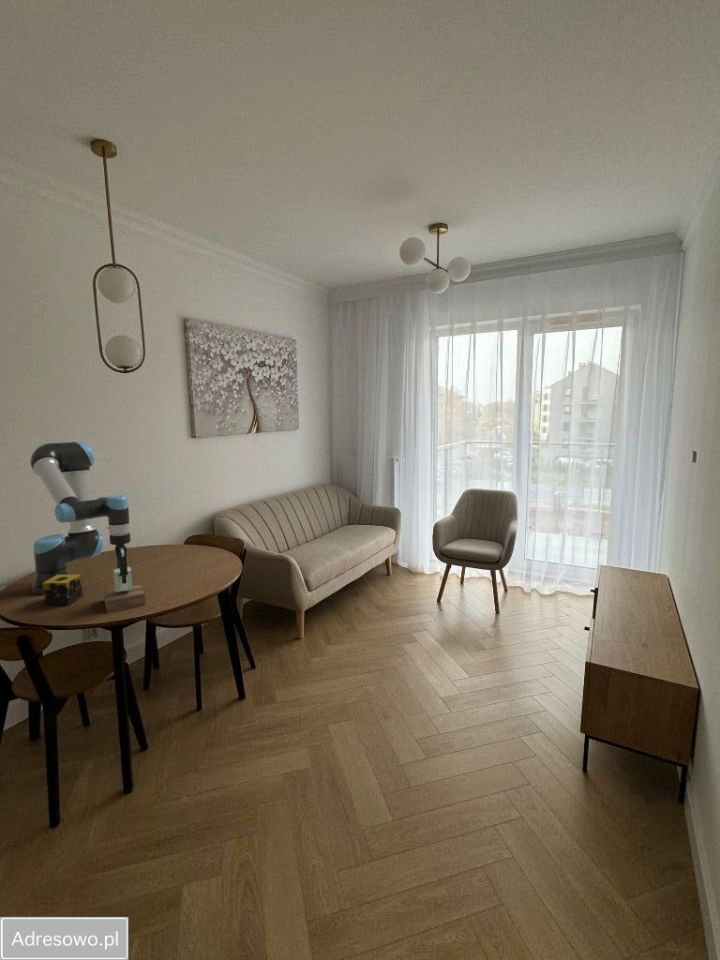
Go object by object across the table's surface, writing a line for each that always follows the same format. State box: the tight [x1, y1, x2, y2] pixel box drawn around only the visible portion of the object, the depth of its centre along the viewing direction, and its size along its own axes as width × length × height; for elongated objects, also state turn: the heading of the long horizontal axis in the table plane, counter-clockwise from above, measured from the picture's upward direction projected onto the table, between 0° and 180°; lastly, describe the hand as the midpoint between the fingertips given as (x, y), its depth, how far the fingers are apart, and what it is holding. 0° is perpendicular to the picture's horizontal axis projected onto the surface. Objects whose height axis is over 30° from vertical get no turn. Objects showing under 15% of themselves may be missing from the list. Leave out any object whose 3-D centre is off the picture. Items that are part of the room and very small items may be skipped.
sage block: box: [113, 566, 133, 592], centre depth 190 cm, size 6×6×8 cm
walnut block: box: [102, 583, 146, 613], centre depth 192 cm, size 14×14×5 cm
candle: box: [43, 573, 84, 607], centre depth 192 cm, size 10×10×10 cm
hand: (123, 587), depth 191 cm, fingers closed on sage block, 6 cm apart
